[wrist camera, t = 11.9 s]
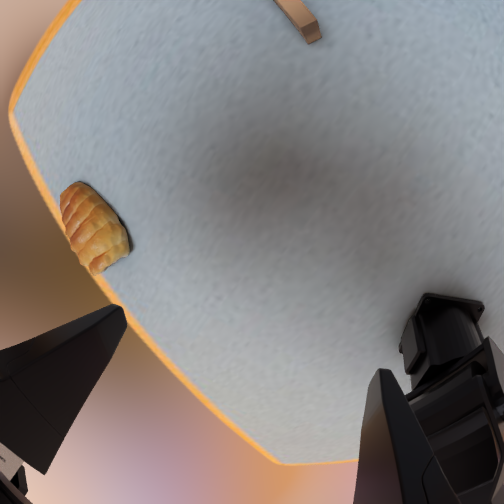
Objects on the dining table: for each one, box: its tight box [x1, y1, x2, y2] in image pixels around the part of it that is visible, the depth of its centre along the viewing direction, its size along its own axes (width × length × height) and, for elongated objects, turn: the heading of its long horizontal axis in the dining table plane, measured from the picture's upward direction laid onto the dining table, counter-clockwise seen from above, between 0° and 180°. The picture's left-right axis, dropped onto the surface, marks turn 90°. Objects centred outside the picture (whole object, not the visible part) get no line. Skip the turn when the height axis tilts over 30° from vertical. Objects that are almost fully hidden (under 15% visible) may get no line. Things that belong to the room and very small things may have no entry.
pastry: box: [60, 182, 129, 276], centre depth 25 cm, size 9×7×4 cm
